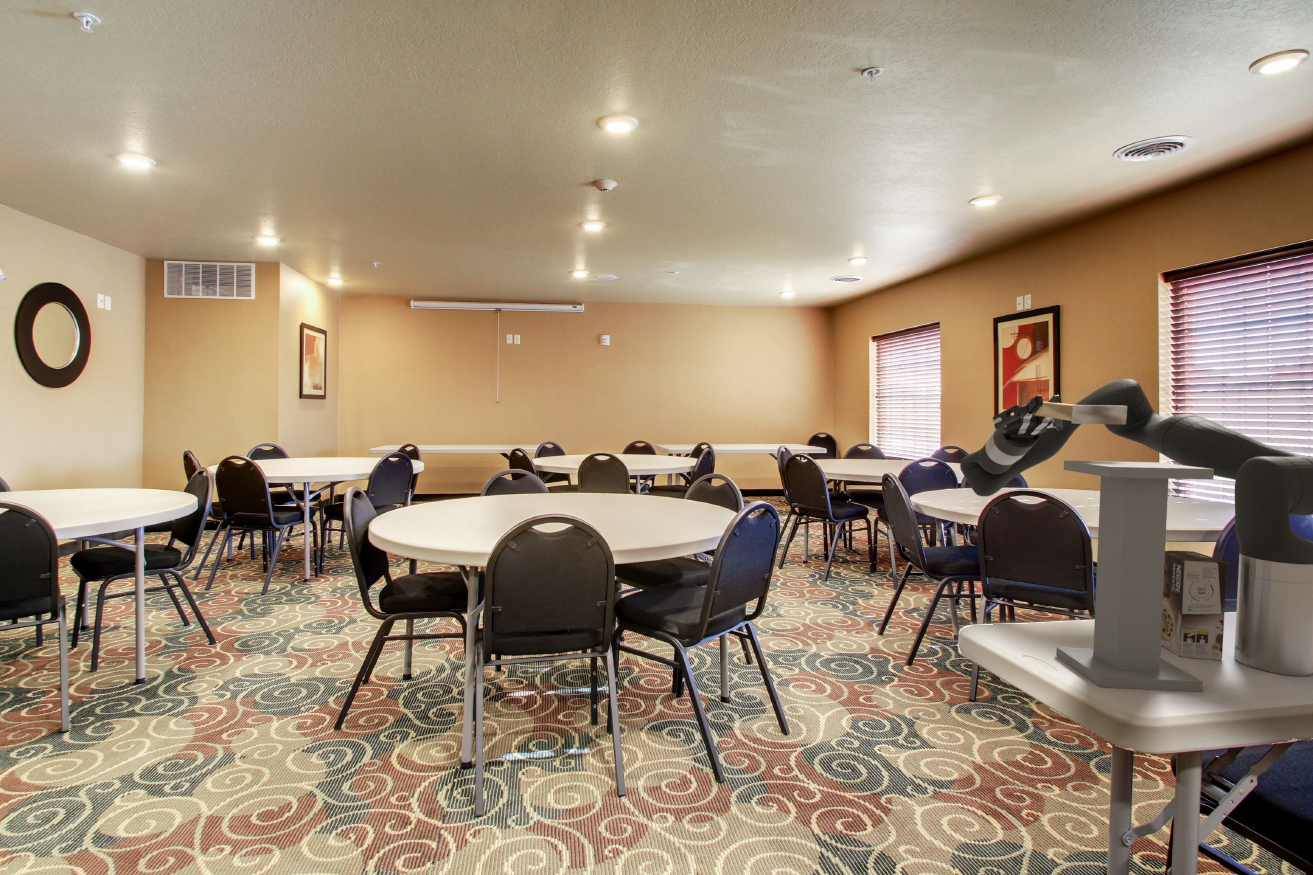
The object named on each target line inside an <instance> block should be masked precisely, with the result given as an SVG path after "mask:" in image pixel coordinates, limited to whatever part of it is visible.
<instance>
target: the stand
mask: <svg viewBox="0 0 1313 875" xmlns="http://www.w3.org/2000/svg"><path fill="white" fill-rule="evenodd" d="M1063 470H1064V471H1068V472H1075V473H1082V474H1086V475H1093V476H1100V487H1099V488H1100V489H1099V511H1098V512H1099V513H1098V514H1099V517H1098V534H1097V535H1098V537H1097V554H1096V556H1097V558H1096V576H1095V577H1096V579H1095V580H1096V583H1095V584H1096V585H1095V602H1094V603H1095V606H1094V607H1095V609H1094V623H1093V624H1094V626H1093V627H1094V628H1093V648H1090V647H1089V648H1087V647H1086V648H1085V647H1064V646H1063V647H1059V646H1056V650H1055V651H1056V654H1055V655H1056V656H1055V657H1056V658H1058V659H1059V660H1061V661H1063V662H1064V663H1065V664H1066V665H1068V666H1070V667H1071V668H1072V669H1074V670H1075V671H1077V672H1078V673H1079V674H1081V675H1082V676H1084V677H1085V678H1087V679H1088V680H1090V681H1091V682H1092V683H1094V684H1095V685H1097V686H1098V687H1100V688H1111V689H1113V688H1114V689H1115V688H1116V689H1133V690H1134V689H1136V690H1138V689H1139V690H1153V691H1154V690H1156V691H1159V690H1160V691H1181V692H1202V693H1203V692H1204V680H1202V679H1200V678H1198V677H1197V676H1194V675H1192V674H1190V673H1189V672H1187V671H1185V670H1183V669H1181V668H1180V667H1178V666H1176V665H1174V664H1172V663H1170V662H1169V661H1167V660H1165V659H1163V658H1161V649H1162V648H1161V646H1162V645H1161V627H1162V606H1163V584H1164V563H1165V551H1166V539H1167V538H1166V537H1167V521H1168V520H1167V517H1168V498H1169V497H1168V495H1169V480H1170V479H1173V480H1174V479H1175V480H1214V476H1215V475H1214V469H1210V468H1201V467H1192V466H1183V465H1181V464H1174V463H1164V462H1158V461H1157V462H1155V461H1154V462H1152V461H1151V462H1150V461H1104V460H1103V461H1102V460H1101V461H1099V460H1064V461H1063Z"/></svg>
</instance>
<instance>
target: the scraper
mask: <svg viewBox="0 0 1313 875" xmlns="http://www.w3.org/2000/svg"><path fill="white" fill-rule="evenodd" d="M1029 401H1030V400H1028V402H1029ZM1028 402H1027V403H1028ZM1032 415H1036V416H1043V417H1049V418H1056V419H1063V420H1069V421H1072V423H1074V424H1081V425H1104V424H1126V417H1127V406H1102V405H1075V404H1073V403H1072V404H1071V403H1054V402H1048V401H1044V400H1043V405H1042V406H1041V407H1040V408H1039V409H1038V411H1037V412H1036V413H1035V414H1032Z"/></svg>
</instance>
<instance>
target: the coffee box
mask: <svg viewBox="0 0 1313 875" xmlns="http://www.w3.org/2000/svg"><path fill="white" fill-rule="evenodd" d="M1227 568H1228V561H1225V560H1222V559H1218V558H1216V557H1211V556H1210V555H1207V554H1203V553H1200V552H1196V551H1190V550H1165V563H1164V584H1163V606H1162V627H1161V646H1162V645H1163V646H1162V647H1164V648H1166V649H1167V650H1169V651H1170V652H1172V653H1173V654H1175V655H1178V656H1179V657H1182V658H1192V659H1193V658H1194V659H1205V660H1215V661H1222V659H1223V650H1224V649H1223V647H1224V646H1223V644H1224V632H1225V629H1224V628H1225V613H1226V612H1225V609H1226V607H1225V606H1226V591H1227V590H1226V589H1227V572H1228V571H1227V570H1228V569H1227Z"/></svg>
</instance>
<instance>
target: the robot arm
mask: <svg viewBox="0 0 1313 875" xmlns="http://www.w3.org/2000/svg"><path fill="white" fill-rule="evenodd" d="M1061 398H1062V397H1060V395H1059V394H1057V395H1056V394H1054V395H1053V396H1051V398H1050V399H1049V400H1048V401H1047V402H1054V403H1062V399H1061ZM1028 401H1029V402H1027V403H1025V404H1023V405H1022V406H1020V405H1018V404H1017V405H1013V406H1011V407H1009V408H1007V409H1005V410H1004V411H1001V412H1000V413H998V414H996V415H994V416H993V417H992V420H993V425H994V429H995V430H994V431H993V432H992V434H990V436H989V438H988V440H987V441H986V442H985V444H984V445H983V446H982V447H981V448H980V449H979V450H977V451H975V452H972V453H971V452H970V453H969V454H966V455H965V456H964V457H963V458H962V459H961V461H960V464H959V469H960V471H961V472H962V474H963V476H964V478H965V479H966V481H967V482H968V484H969V486H970V487H971V489H972V491H973V493H975V494H976V495H977V496H979V497H990V496H993V495H994V494H996V493H998V492H999V491H1000V490H1001V489H1003V487H1005V486H1006V485H1007V484H1008V483H1009V482H1011V481H1012V480H1013V479H1014V478H1016V477H1017V476H1019V475H1020V474H1021V473H1023V472H1024V471H1027V470H1029V469H1031V468H1032V467H1035V466H1037V465H1039V464H1041V463H1043V462H1045V461H1047V460H1049V459H1051V458H1052V457H1054V456H1055V455H1056V454H1057V453H1058V452H1059V451H1060V450H1062V448H1063V447H1064V446H1065V444H1066V443H1067V442H1068V440H1069V439H1070V438H1071V436H1072V435H1073V434H1075V433H1074V432H1076V430H1077V429H1078V428H1080V426H1081V425H1082V424H1074V423H1072V421H1069V420H1063V419H1056V418H1049V417H1043V416H1036V415H1032V414H1035V413H1036V412H1037V411H1038V409H1039V408H1040V407H1041V406H1042V405H1043V401H1044V400H1043V395H1042V394H1036V395H1035V396H1034V397H1032V398H1030V400H1028ZM1074 405H1102V406H1127V417H1126V424H1103V425H1104V426H1105V428H1106V429H1107V430H1108V431H1109V432H1110V433H1112V434H1114V435H1116V436H1119V437H1120V438H1124V439H1126V440H1129V441H1132V442H1135V443H1138V444H1141V445H1144V446H1146V447H1147V448H1149V449H1151V450H1153V451H1155V452H1157V453H1159V454H1161V455H1163V456H1165V457H1166V458H1168V459H1170V460H1172V461H1174V462H1176V463H1178V465H1183V466H1192V467H1201V468H1210V469H1214V476H1215V477H1220V478H1225V479H1229V480H1233V481H1234V480H1235V481H1234V529H1235V535H1236V537H1237V540H1238V544H1239V554H1238V555H1239V557H1238V558H1239V560H1238V580H1237V598H1236V611H1235V612H1236V615H1235V616H1236V617H1235V634H1234V635H1235V636H1234V651H1233V652H1234V653H1233V655H1234V656H1233V658H1234V659H1235V660H1236V661H1238V662H1240V663H1241V664H1244V665H1245V666H1249V667H1252V668H1255V669H1259V670H1263V671H1266V672H1271V673H1276V674H1281V675H1288V676H1301V677H1303V676H1311V675H1313V541H1311V540H1309V539H1306V538H1303V537H1302V536H1299V535H1298V534H1296V533H1295V532H1294V531H1293V530H1292V528H1291V523H1290V520H1291V519H1290V516H1295V517H1296V516H1300V517H1301V516H1304V517H1305V516H1313V457H1310V456H1306V455H1302V454H1299V453H1295V452H1291V451H1288V450H1285V449H1282V448H1278V447H1274V446H1271V445H1268V444H1265V443H1263V442H1260V441H1259V440H1256V439H1254V438H1251V437H1250V436H1248V435H1245V434H1243V433H1241V432H1237V431H1236V430H1232V429H1230V428H1228V427H1225V426H1224V425H1221V424H1219V423H1217V422H1215V421H1212V420H1210V419H1207V418H1205V417H1202V416H1199V415H1197V414H1195V415H1194V414H1190V413H1183V414H1182V413H1181V414H1176V415H1172V416H1170V417H1167V418H1165V417H1163V416H1161V415H1159V414H1158V413H1157V412H1156V411H1155V410H1154V408H1153V407H1152V405H1151V403H1150V401H1149V399H1148V397H1147V395H1146V393H1145V391H1144V390H1143V388H1142V386H1141V385H1140V383H1139V382H1138V381H1136V380H1135V379H1132V378H1131V379H1130V378H1124V379H1123V378H1122V379H1118V380H1114V381H1111V382H1109V383H1107V384H1104V385H1103V386H1101V387H1099V388H1097V389H1096V390H1094V391H1092V392H1091V393H1089V394H1088V395H1087V396H1085V397H1083V398H1082V399H1081V400H1079V401H1077V402H1075V404H1074ZM1012 413H1013V415H1012ZM1011 415H1012V416H1011Z"/></svg>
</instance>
